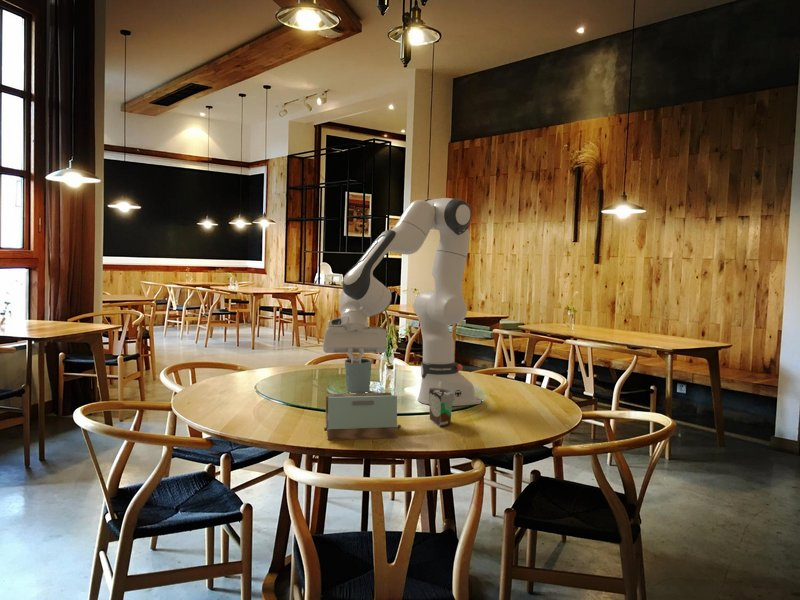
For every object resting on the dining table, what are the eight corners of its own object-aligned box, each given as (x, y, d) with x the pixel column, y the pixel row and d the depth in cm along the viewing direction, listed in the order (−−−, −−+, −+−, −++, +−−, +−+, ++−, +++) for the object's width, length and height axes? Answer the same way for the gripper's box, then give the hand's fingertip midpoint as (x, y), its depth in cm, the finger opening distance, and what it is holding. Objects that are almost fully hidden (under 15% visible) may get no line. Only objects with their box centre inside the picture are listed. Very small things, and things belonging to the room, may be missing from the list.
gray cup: (373, 389, 251) (373, 358, 250) (369, 395, 241) (369, 363, 240) (347, 388, 252) (347, 357, 251) (342, 394, 242) (342, 362, 241)
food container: (460, 427, 201) (460, 395, 200) (441, 428, 199) (441, 396, 198) (446, 417, 213) (446, 386, 212) (428, 418, 211) (428, 387, 210)
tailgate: (396, 426, 190) (396, 395, 190) (397, 427, 188) (397, 396, 188) (328, 428, 187) (328, 396, 187) (328, 429, 185) (328, 397, 185)
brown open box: (393, 424, 204) (393, 392, 203) (400, 438, 189) (401, 404, 188) (322, 426, 200) (322, 394, 199) (324, 440, 186) (324, 406, 185)
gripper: (385, 333, 215) (388, 368, 206) (322, 333, 212) (323, 368, 203) (387, 321, 210) (390, 356, 201) (323, 320, 207) (323, 356, 198)
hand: (356, 362), depth 202 cm, fingers closed
